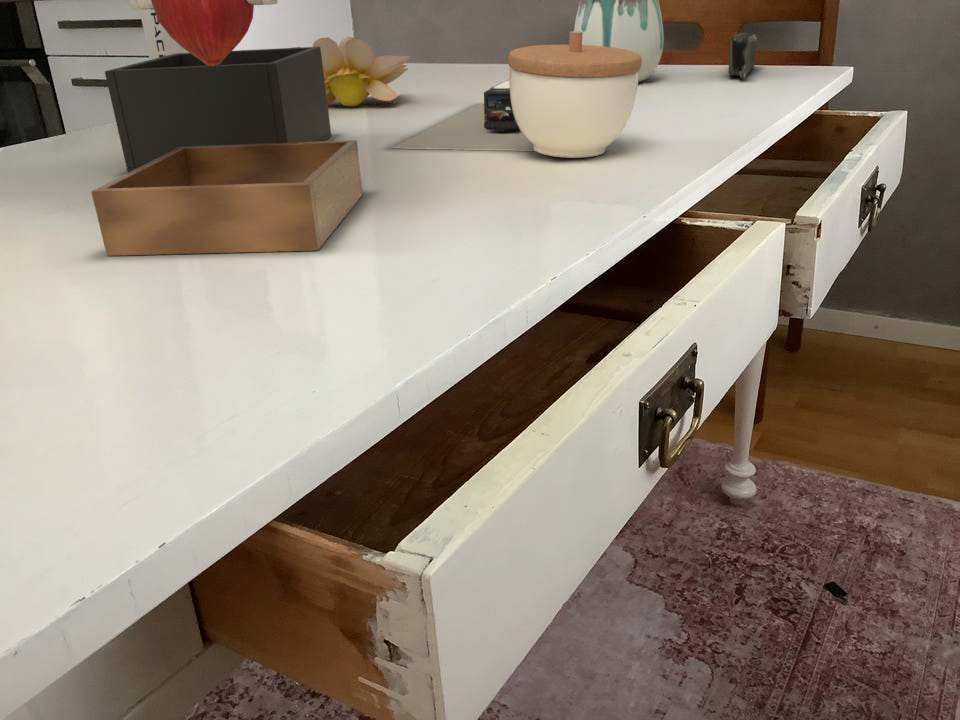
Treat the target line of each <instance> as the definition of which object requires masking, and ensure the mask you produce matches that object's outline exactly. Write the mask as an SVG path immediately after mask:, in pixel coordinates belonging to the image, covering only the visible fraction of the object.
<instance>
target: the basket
mask: <svg viewBox="0 0 960 720" xmlns="http://www.w3.org/2000/svg"><path fill="white" fill-rule="evenodd" d="M300 47H301V46H300ZM104 75H105V79H106V84H107V89H108V93H109V96H110V102H111V105H112V110H113V114H114V118H115V123H116V128H117V132H118V136H119V140H120V145H121V149H122V154H123V158H124V163H125V167H126V173H129V172H131V171H133V170H135V169H137V168H139V167H141V166H143V165H145V164H147V163H149V162H151V161H153V160H155V159H157V158H159V157H161V156H163V155H165V154H167V153H169V152H171V151H172V150H174V149H176V148H179V147H185V146H212V145H239V144H266V143H293V142H320V141H328V140H329V138H330V137H332V131H331V130H332V129H331V121H330V115H329V104H327V96H326V88H325V80H324V72H323V64H322V56H321V48H320V47H312V46H303V47H301V48H293V47H283V48H280V47H279V48H264V49H263V48H262V49H261V48H260V49H240V50H232V51H231V52H230V53H229V54H228V55H227V57H226V58H225V59H224V60H223V62H222V63H220V64H219V65H214V66H211V65H209V66H208V65H206V64H205V63H203V62H202V61H201V60H199V59H198V58H197V57H195V56H194V55H192V54H191V53H175V54H171V55H167V56H163V57H159V58H156V59H152V60H150V59H148V60H143V61H140V62H136V63H131V64H128V65H124V66H120V67H116V68H112V69H108V70H105V71H104Z"/></svg>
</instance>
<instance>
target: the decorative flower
mask: <svg viewBox="0 0 960 720" xmlns="http://www.w3.org/2000/svg"><path fill="white" fill-rule="evenodd" d="M311 47H320V48H321V56H322V64H323V72H324V80H325V88H326V96H327V105H329V104H332V103H333V102H334V101H335V100H337V101H338V102H339V103H340V104H342V105H343V106H344V107H350V108H354V107H357V106H360V104H362V102H364V101H366V99H367V98H368V97H369V95H371V96H372V97H373V98H374V99H376V100H379V101H383V102H387V103H389V104H394V105H395V104H396V102H395V99H396V98H397V97H399V94H398V93H397V92H396V91H395V90H394V89H393V88H392V87H390V86H389V85H388V84H390V83H392V82H394V81H395V80H397V79H398V78H399V77H401V76H402V75H403V74H404V73H405V72H407V71H408V70H409V67H408V64H406V63H407V62H409V60H410V59H411V56H410V55H379V56H376V57H375V52H374V50H373V48H372V47H371V46H370V44H368V43H367V42H366V41H365V40H360V39H358V38H357V39H356V38H354V37H353V36H346V37H344V38H343V39H342V40H341V41H340V42H339V45H338V43H337V42H336V41H335V40H334V39H332V38H331V37H329V36H328V37H320V38H317V39H316V40H314V42H313V43H312V46H311ZM292 48H301V46H293V47H292ZM407 67H408V68H407Z"/></svg>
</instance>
